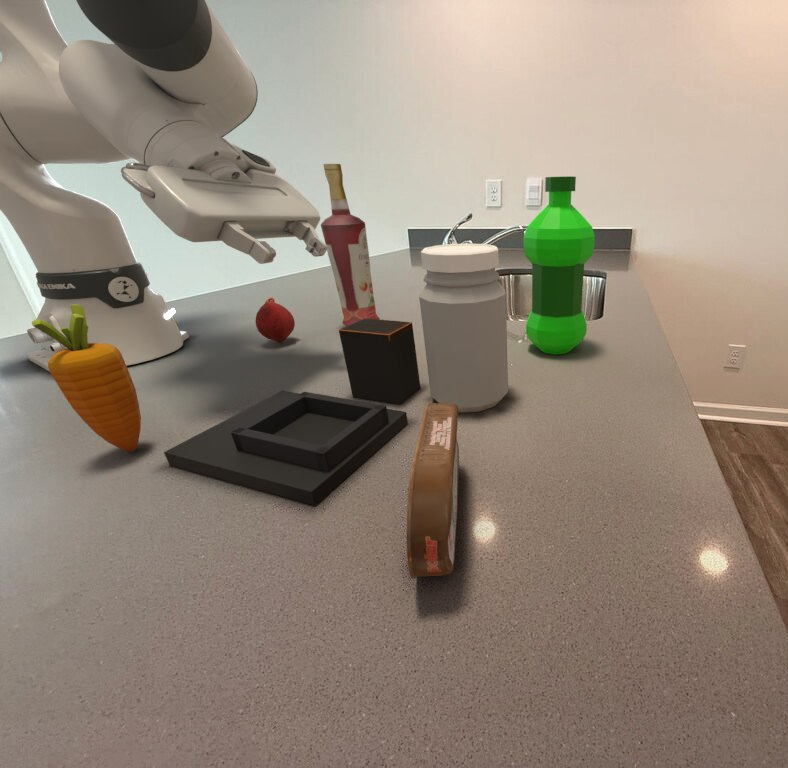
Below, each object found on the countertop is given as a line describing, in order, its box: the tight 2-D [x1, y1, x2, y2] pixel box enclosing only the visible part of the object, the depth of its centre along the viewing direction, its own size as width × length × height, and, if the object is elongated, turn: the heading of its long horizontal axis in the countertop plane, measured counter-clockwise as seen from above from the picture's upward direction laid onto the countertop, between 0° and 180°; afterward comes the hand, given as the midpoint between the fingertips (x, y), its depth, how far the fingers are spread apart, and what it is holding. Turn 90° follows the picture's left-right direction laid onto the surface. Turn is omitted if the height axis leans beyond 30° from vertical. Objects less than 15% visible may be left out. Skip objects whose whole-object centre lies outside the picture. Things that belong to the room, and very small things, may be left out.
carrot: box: [31, 304, 142, 453], centre depth 39 cm, size 5×5×15 cm
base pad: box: [163, 390, 409, 506], centre depth 42 cm, size 18×14×4 cm
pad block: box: [338, 318, 421, 405], centre depth 51 cm, size 7×5×9 cm
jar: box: [418, 243, 509, 414], centre depth 47 cm, size 10×10×18 cm
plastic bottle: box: [523, 176, 596, 355], centre depth 61 cm, size 10×10×25 cm
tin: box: [406, 401, 460, 579], centre depth 30 cm, size 15×3×8 cm, turn 5°
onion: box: [255, 296, 296, 344], centre depth 70 cm, size 6×6×8 cm
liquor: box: [320, 163, 381, 327], centre depth 73 cm, size 7×7×28 cm
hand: (298, 255), depth 49 cm, fingers open, 8 cm apart
